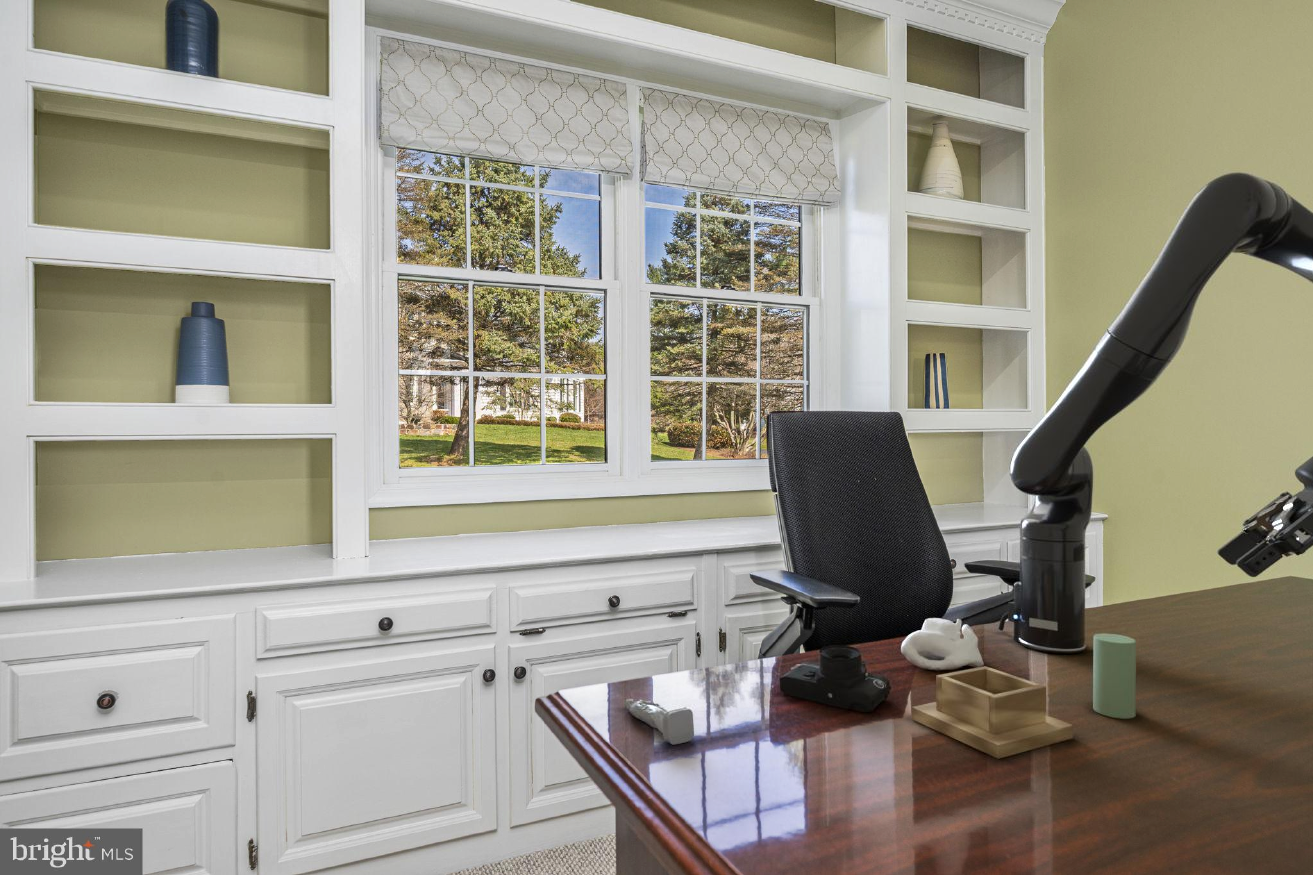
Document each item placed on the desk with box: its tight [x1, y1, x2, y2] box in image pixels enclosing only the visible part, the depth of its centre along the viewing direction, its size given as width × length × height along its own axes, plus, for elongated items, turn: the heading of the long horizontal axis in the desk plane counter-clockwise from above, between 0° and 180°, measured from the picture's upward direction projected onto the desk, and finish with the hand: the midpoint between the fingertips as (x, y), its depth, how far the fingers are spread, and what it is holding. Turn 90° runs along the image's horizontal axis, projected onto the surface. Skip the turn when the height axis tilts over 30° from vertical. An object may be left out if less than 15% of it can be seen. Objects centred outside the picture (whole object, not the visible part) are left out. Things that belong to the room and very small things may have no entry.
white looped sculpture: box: [900, 617, 985, 672], centre depth 109 cm, size 9×12×8 cm
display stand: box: [911, 665, 1074, 760], centre depth 85 cm, size 12×12×6 cm
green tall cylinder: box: [1092, 632, 1137, 720], centre depth 91 cm, size 4×4×9 cm
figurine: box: [625, 698, 695, 746], centre depth 86 cm, size 4×12×4 cm, turn 31°
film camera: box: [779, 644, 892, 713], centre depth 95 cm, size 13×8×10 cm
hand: (1233, 564), depth 85 cm, fingers open, 8 cm apart
